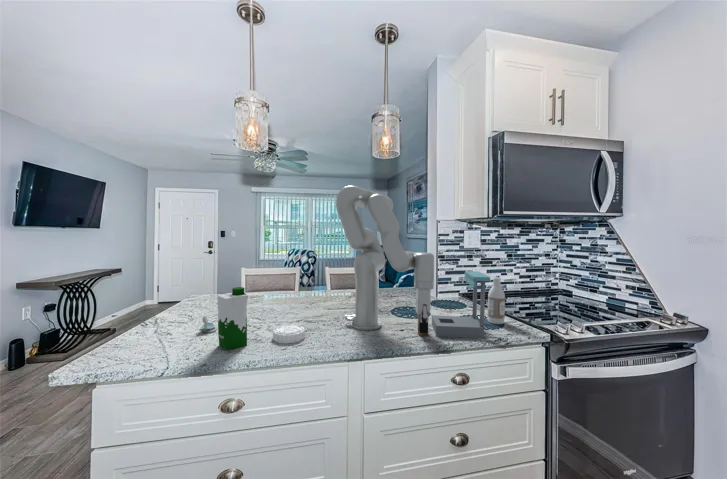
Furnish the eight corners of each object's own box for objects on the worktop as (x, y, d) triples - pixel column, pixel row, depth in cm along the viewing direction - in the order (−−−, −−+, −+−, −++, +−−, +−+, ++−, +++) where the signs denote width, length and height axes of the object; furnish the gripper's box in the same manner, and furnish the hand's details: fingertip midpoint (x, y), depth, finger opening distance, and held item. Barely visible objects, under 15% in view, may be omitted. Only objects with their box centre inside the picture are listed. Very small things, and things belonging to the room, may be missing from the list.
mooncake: (305, 342, 112) (305, 333, 112) (271, 345, 110) (271, 335, 110) (305, 331, 124) (305, 322, 124) (274, 333, 122) (274, 324, 121)
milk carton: (250, 345, 109) (250, 289, 108) (224, 352, 102) (223, 293, 101) (240, 338, 115) (239, 285, 114) (215, 345, 109) (214, 289, 108)
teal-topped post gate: (472, 338, 118) (473, 276, 117) (463, 325, 133) (464, 271, 131) (488, 338, 117) (490, 277, 116) (477, 325, 132) (479, 271, 131)
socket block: (436, 336, 119) (436, 325, 119) (431, 324, 133) (431, 315, 133) (484, 338, 118) (484, 327, 117) (474, 326, 132) (474, 316, 131)
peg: (418, 336, 119) (418, 310, 119) (417, 332, 123) (417, 307, 123) (428, 336, 119) (429, 311, 118) (427, 333, 123) (427, 308, 122)
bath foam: (498, 325, 133) (499, 279, 132) (484, 321, 138) (485, 277, 138) (507, 322, 136) (508, 278, 136) (493, 318, 142) (494, 276, 141)
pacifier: (218, 327, 128) (203, 328, 126) (219, 313, 127) (203, 313, 126) (214, 334, 120) (197, 334, 119) (214, 318, 120) (198, 318, 119)
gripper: (412, 280, 129) (412, 323, 130) (415, 288, 112) (414, 337, 113) (430, 280, 128) (430, 324, 129) (436, 289, 111) (435, 338, 112)
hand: (423, 329), depth 121 cm, fingers open, 4 cm apart
